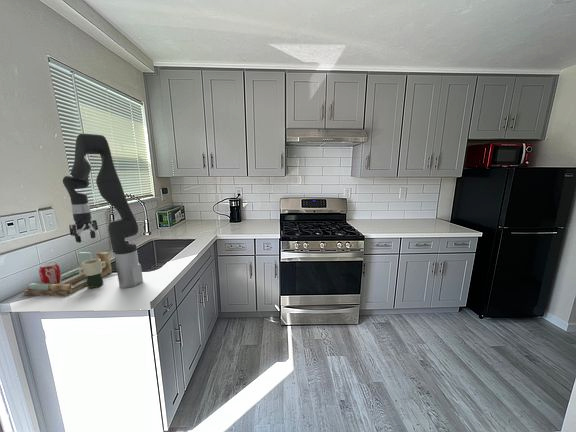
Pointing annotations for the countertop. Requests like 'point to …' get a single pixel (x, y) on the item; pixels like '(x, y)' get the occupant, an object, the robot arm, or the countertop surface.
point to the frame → (46, 292)
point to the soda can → (50, 273)
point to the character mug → (93, 272)
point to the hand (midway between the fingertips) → (86, 240)
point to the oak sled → (83, 276)
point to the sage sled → (82, 257)
